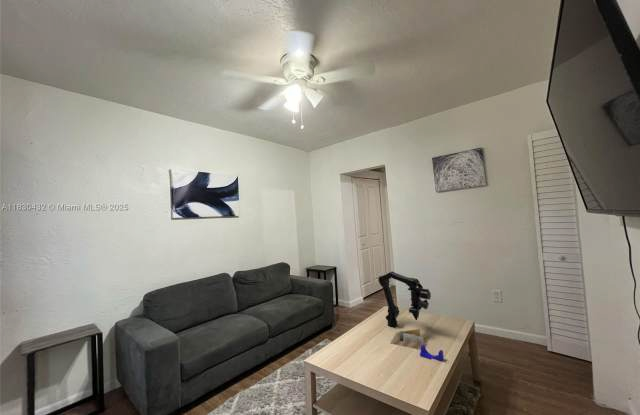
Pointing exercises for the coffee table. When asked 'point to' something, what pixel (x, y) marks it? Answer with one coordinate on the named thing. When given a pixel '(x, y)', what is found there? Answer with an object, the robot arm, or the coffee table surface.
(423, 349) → the cable clip
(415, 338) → the steel leaf
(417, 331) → the block
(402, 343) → the hinge board
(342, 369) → the coffee table surface
